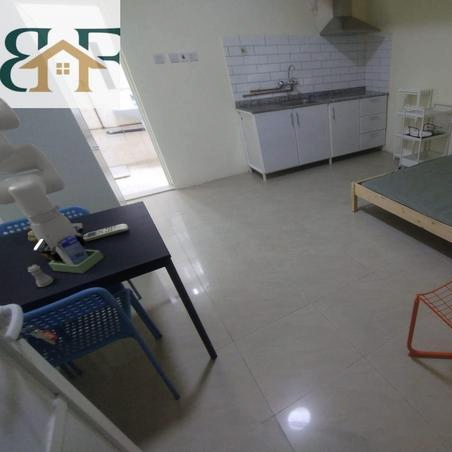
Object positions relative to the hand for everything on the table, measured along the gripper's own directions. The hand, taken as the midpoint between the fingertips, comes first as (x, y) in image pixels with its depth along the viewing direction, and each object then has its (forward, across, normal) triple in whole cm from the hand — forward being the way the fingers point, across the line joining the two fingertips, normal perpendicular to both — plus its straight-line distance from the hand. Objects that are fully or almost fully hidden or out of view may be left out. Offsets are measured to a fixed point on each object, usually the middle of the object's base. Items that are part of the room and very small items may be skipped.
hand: (71, 252), depth 108 cm
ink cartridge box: (+5, 0, 0) cm, 5 cm away
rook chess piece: (+6, +11, -2) cm, 13 cm away
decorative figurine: (+6, -4, -15) cm, 16 cm away
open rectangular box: (+6, 0, 0) cm, 6 cm away
